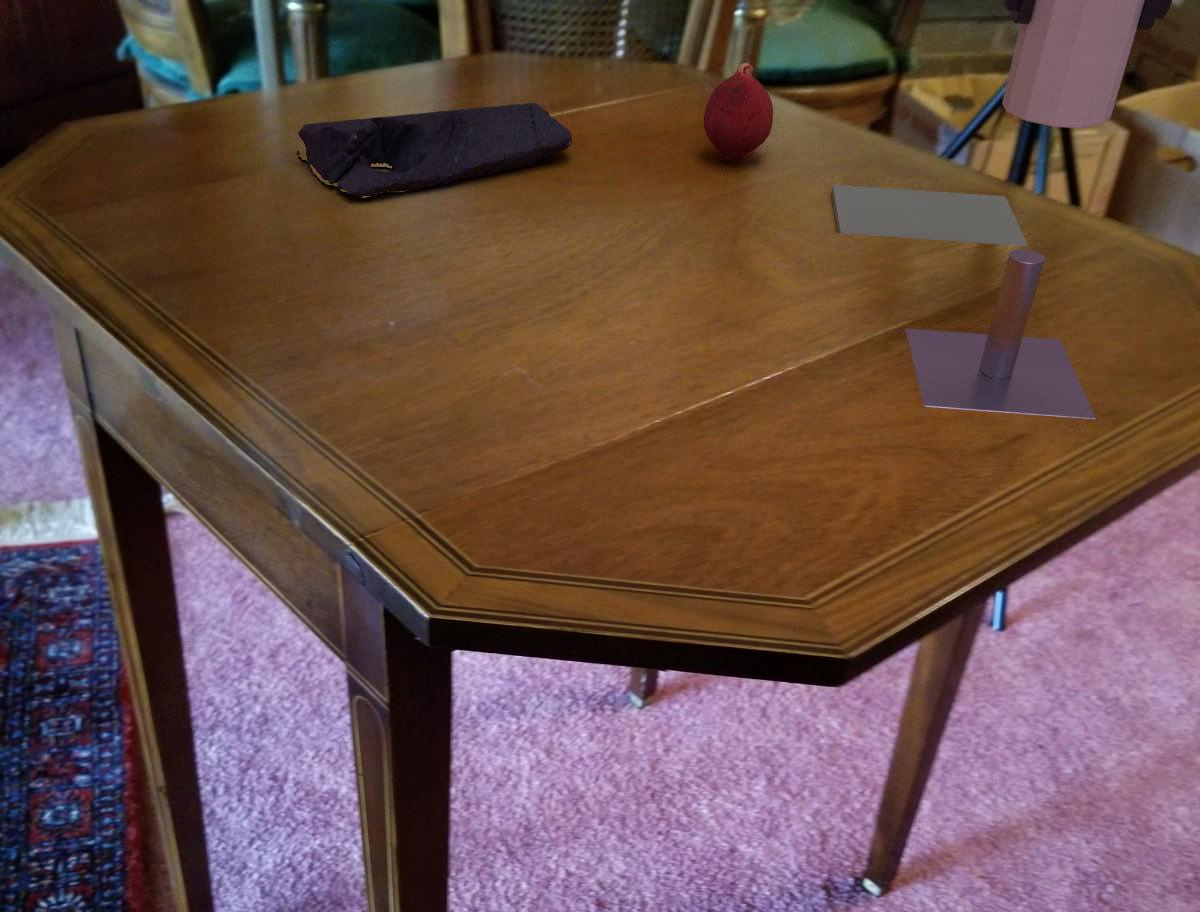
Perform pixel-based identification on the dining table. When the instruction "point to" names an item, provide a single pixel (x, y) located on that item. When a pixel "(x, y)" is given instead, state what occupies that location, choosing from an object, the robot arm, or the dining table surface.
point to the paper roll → (1071, 61)
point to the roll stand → (1000, 358)
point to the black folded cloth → (431, 146)
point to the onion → (738, 115)
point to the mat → (925, 215)
